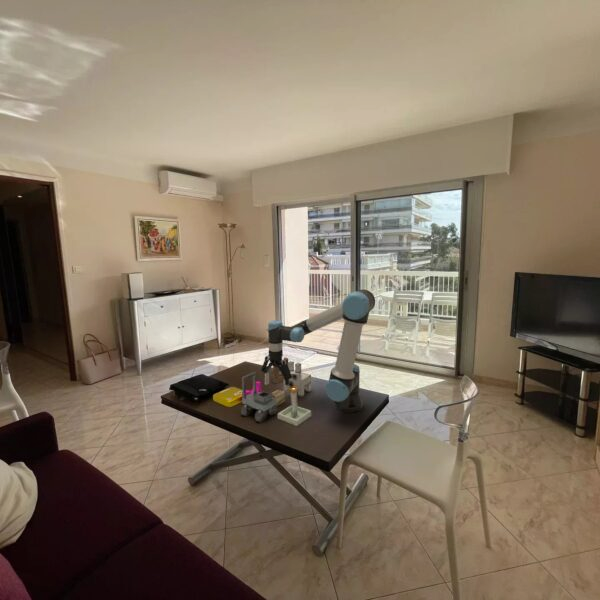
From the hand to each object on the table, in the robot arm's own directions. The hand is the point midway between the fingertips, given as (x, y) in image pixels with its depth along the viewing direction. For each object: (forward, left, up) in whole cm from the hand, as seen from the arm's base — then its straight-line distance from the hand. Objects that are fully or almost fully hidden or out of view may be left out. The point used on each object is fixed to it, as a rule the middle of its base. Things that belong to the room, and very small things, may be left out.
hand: (276, 387), depth 174 cm
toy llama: (-3, -17, -9) cm, 20 cm away
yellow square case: (+24, +12, -10) cm, 28 cm away
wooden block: (+18, -25, -9) cm, 32 cm away
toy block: (+14, +4, -10) cm, 17 cm away
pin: (-18, +7, -8) cm, 21 cm away
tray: (-18, +7, -9) cm, 21 cm away
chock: (0, 0, -9) cm, 9 cm away
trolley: (-1, +15, -9) cm, 18 cm away
